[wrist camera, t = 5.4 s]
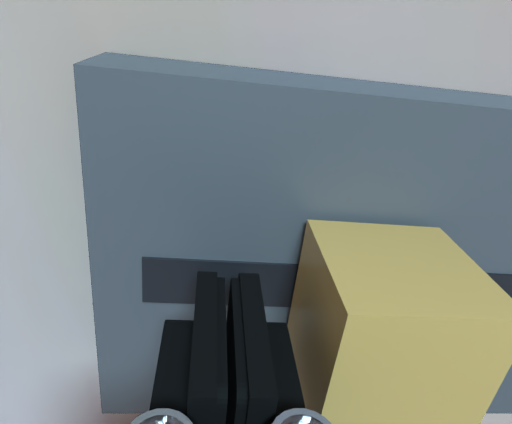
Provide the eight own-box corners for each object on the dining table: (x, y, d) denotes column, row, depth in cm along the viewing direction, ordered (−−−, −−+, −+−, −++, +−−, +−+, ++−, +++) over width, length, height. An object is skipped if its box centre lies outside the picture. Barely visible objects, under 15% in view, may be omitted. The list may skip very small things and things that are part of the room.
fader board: (727, 119, 15) (845, 144, 12) (577, 359, 20) (635, 415, 17) (105, 52, 12) (71, 64, 9) (119, 350, 17) (101, 415, 14)
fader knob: (439, 227, 12) (534, 320, 8) (395, 353, 14) (455, 469, 10) (307, 219, 11) (347, 314, 8) (282, 351, 14) (305, 472, 10)
